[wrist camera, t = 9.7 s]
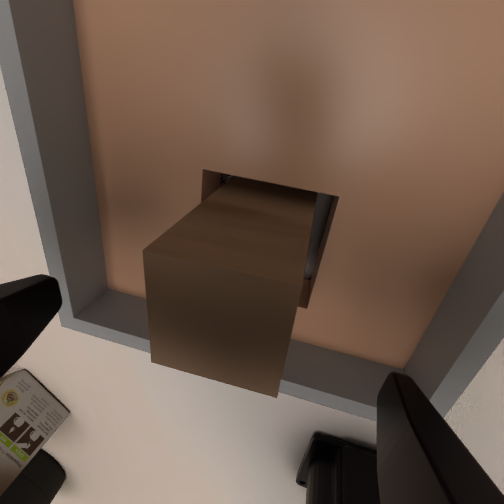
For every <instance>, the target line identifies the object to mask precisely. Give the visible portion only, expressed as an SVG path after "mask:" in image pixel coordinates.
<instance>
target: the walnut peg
mask: <svg viewBox="0 0 504 504" xmlns="http://www.w3.org/2000/svg"><path fill="white" fill-rule="evenodd" d="M316 198H317V192H314V191H309V190H304V189H299V188H294V187H289V186H284V185H280V184H275V183H270V182H265V181H260V180H254V179H248V178H242V177H236V176H234V177H232V178H231V179H230V180H229V181H227V182H226V183H225V184H224V185H222V186H221V187H220V188H219V189H218V190H216V191H215V192H214V193H213V194H211V195H210V196H209V197H208V198H206V199H205V200H204V201H203V202H201V203H200V204H199V205H198V206H196V207H195V208H194V209H193V210H192V211H190V212H189V213H188V214H187V215H185V216H184V217H183V218H182V219H180V220H179V221H178V222H177V223H175V224H174V225H173V226H172V227H170V228H169V229H168V230H167V231H165V232H164V233H163V234H162V235H161V236H159V237H158V238H157V239H156V240H154V241H153V242H152V243H151V244H149V245H148V246H147V247H146V248H144V249H143V250H142V253H143V266H144V278H145V290H146V302H147V315H148V327H149V339H150V351H151V362H153V363H156V364H160V365H163V366H167V367H170V368H174V369H177V370H181V371H184V372H188V373H191V374H195V375H198V376H202V377H205V378H209V379H212V380H216V381H219V382H223V383H226V384H230V385H234V386H237V387H241V388H244V389H248V390H251V391H255V392H258V393H262V394H265V395H269V396H272V397H276V398H277V395H278V391H279V386H280V382H281V378H282V373H283V369H284V365H285V360H286V356H287V351H288V347H289V343H290V338H291V334H292V329H293V325H294V321H295V316H296V312H297V308H298V303H299V299H300V294H301V290H302V286H303V279H304V273H305V267H306V261H307V254H308V248H309V242H310V236H311V229H312V223H313V217H314V211H315V204H316Z"/></svg>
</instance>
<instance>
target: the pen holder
mask: <svg viewBox="0 0 504 504" xmlns="http://www.w3.org/2000/svg"><path fill="white" fill-rule="evenodd" d="M64 476H65V475H64V471H63V469H62V468H61V466H60V465H59V464H58V463H57V462H56V461H55V460H54V459H53V458H52V457H51V456H49V455H48V454H47V453H45V452H44V451H42V450H41V449H40V450H39V451H38V452H37V454H36V455H35V456H34V457H33V458H32V459H31V460H30V462H29V463H28V464H27V465H26V466H25V467H24V469H23V470H22V471H21V472H20V474H19V475H18V476H17V477H16V478H15V480H14V481H13V482H12V483H11V484H10V486H9V487H8V488H7V489H6V490H5V491H4V493H3V494H2V495H1V496H0V504H50V503H51V501H52V500H53V498H54V497H55V495H56V494H57V492H58V491H59V489H60V487H61V486H62V484H63V482H64Z"/></svg>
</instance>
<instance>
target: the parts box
mask: <svg viewBox="0 0 504 504" xmlns="http://www.w3.org/2000/svg"><path fill="white" fill-rule="evenodd" d="M0 66H1V70H2V74H3V78H4V83H5V87H6V91H7V95H8V100H9V104H10V108H11V112H12V117H13V121H14V125H15V130H16V134H17V138H18V142H19V147H20V151H21V155H22V159H23V164H24V168H25V172H26V176H27V181H28V185H29V189H30V194H31V198H32V202H33V206H34V211H35V215H36V219H37V223H38V228H39V232H40V236H41V240H42V245H43V249H44V253H45V258H46V262H47V266H48V270H49V275H50V276H51V277H54V278H56V279H57V280H58V282H59V286H60V291H61V295H62V300H63V302H62V306H61V308H60V310H59V311H58V313H59V317H60V322H61V326H62V327H66V328H69V329H72V330H76V331H79V332H82V333H86V334H89V335H92V336H95V337H99V338H102V339H105V340H109V341H112V342H115V343H119V344H122V345H125V346H129V347H132V348H135V349H139V350H142V351H145V352H148V353H151V351H150V339H149V327H148V315H147V302H146V290H145V278H144V266H143V253H142V250H143V249H144V248H146V247H147V246H148V245H149V244H151V243H152V242H153V241H154V240H156V239H157V238H158V237H159V236H161V235H162V234H163V233H164V232H165V231H167V230H168V229H169V228H170V227H172V226H173V225H174V224H175V223H177V222H178V221H179V220H180V219H182V218H183V217H184V216H185V215H187V214H188V213H189V212H190V211H192V210H193V209H194V208H195V207H196V206H198V205H199V204H200V203H201V202H203V201H204V200H205V199H206V198H208V197H209V196H210V195H211V194H213V193H214V192H215V191H216V190H218V189H219V188H220V184H221V173H225V174H230V175H235V176H240V177H245V178H250V179H255V180H260V181H265V182H270V183H275V184H280V185H284V186H289V187H294V188H299V189H304V190H309V191H314V192H319V193H324V194H329V195H334V198H333V202H332V206H331V209H330V213H329V216H328V220H327V223H326V227H325V231H324V234H323V238H322V241H321V245H320V249H319V252H318V256H317V259H316V263H315V266H314V270H313V274H312V277H311V280H308V279H303V286H302V290H301V294H300V299H299V303H298V308H297V312H296V316H295V321H294V325H293V329H292V334H291V338H290V343H289V347H288V351H287V356H286V360H285V365H284V369H283V373H282V378H281V382H280V386H279V391H278V392H281V393H284V394H287V395H291V396H294V397H297V398H301V399H304V400H307V401H311V402H314V403H317V404H320V405H324V406H327V407H330V408H334V409H337V410H340V411H344V412H347V413H350V414H354V415H357V416H360V417H363V418H367V419H370V420H373V421H377V396H378V393H379V391H380V389H381V387H382V385H383V383H384V381H385V379H386V378H387V376H388V374H389V373H390V372H392V371H395V372H398V373H402V374H406V375H408V376H410V377H411V378H412V379H413V380H414V381H415V383H416V384H417V385H418V387H419V388H420V389H421V390H422V392H423V393H424V394H425V396H426V397H427V398H428V399H429V401H430V402H431V403H432V404H433V406H434V407H435V408H436V410H437V411H438V412H439V413H440V415H441V416H442V417H443V418H444V417H445V416H446V414H447V413H448V411H449V410H450V409H451V407H452V406H453V405H454V403H455V402H456V401H457V399H458V398H459V397H460V395H461V394H462V393H463V391H464V390H465V389H466V387H467V386H468V385H469V383H470V382H471V381H472V379H473V378H474V377H475V375H476V374H477V373H478V371H479V370H480V369H481V367H482V366H483V364H484V363H485V362H486V360H487V359H488V358H489V356H490V355H491V354H492V352H493V351H494V350H495V348H496V347H497V346H498V344H499V343H500V342H501V340H502V339H503V338H504V0H0Z"/></svg>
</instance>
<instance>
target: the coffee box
mask: <svg viewBox="0 0 504 504" xmlns="http://www.w3.org/2000/svg"><path fill="white" fill-rule="evenodd" d="M68 415H69V412H68V411H67V410H66V409H65V408H64V407H63V406H62V405H61V404H60V403H59V402H58V401H57V400H56V399H55V398H54V397H53V396H52V395H51V394H50V393H49V392H48V391H46V390H45V389H44V388H43V387H42V386H41V385H40V384H39V383H38V382H37V381H36V380H35V379H34V378H33V377H32V376H31V375H30V374H29V373H28V372H27V371H24V370H21V371H19V372H16V373H13V374H11V375H8V376H5V377H3V378H1V379H0V496H1V495H2V494H3V493H4V491H5V490H6V489H7V488H8V487H9V486H10V484H11V483H12V482H13V481H14V480H15V478H16V477H17V476H18V475H19V474H20V472H21V471H22V470H23V469H24V467H25V466H26V465H27V464H28V463H29V462H30V460H31V459H32V458H33V457H34V456H35V455H36V454H37V452H38V451H39V450H40V449H41V448H42V446H43V445H44V444H45V443H46V442H47V440H48V439H49V438H50V437H51V435H52V434H53V433H54V432H55V431H56V429H57V428H58V427H59V426H60V425H61V424H62V422H63V421H64V420H65V419H66V418H67V417H68Z"/></svg>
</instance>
